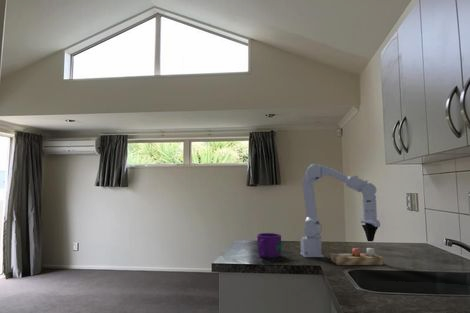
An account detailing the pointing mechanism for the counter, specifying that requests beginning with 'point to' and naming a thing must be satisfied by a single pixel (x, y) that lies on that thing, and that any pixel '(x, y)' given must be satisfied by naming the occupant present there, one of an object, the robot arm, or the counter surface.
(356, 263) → the socket block
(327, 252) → the counter surface
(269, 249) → the mug
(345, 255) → the plug left
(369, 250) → the plug right
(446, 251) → the counter surface
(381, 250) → the counter surface
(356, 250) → the plug red
